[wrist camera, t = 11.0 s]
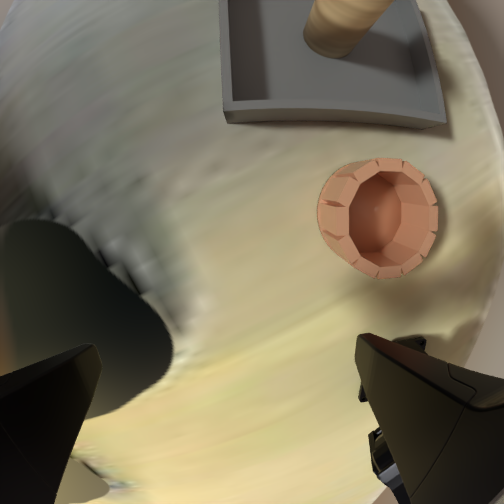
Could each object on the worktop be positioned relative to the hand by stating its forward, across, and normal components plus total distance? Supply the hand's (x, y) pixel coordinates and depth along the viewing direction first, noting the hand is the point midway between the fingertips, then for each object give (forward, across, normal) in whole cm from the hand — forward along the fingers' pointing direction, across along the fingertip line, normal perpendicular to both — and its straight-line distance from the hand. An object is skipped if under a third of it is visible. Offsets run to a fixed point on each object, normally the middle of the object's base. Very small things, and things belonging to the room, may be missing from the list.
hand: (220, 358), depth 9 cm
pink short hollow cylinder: (+13, -10, -3) cm, 17 cm away
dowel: (+12, -8, -17) cm, 22 cm away
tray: (+13, -8, -17) cm, 23 cm away
